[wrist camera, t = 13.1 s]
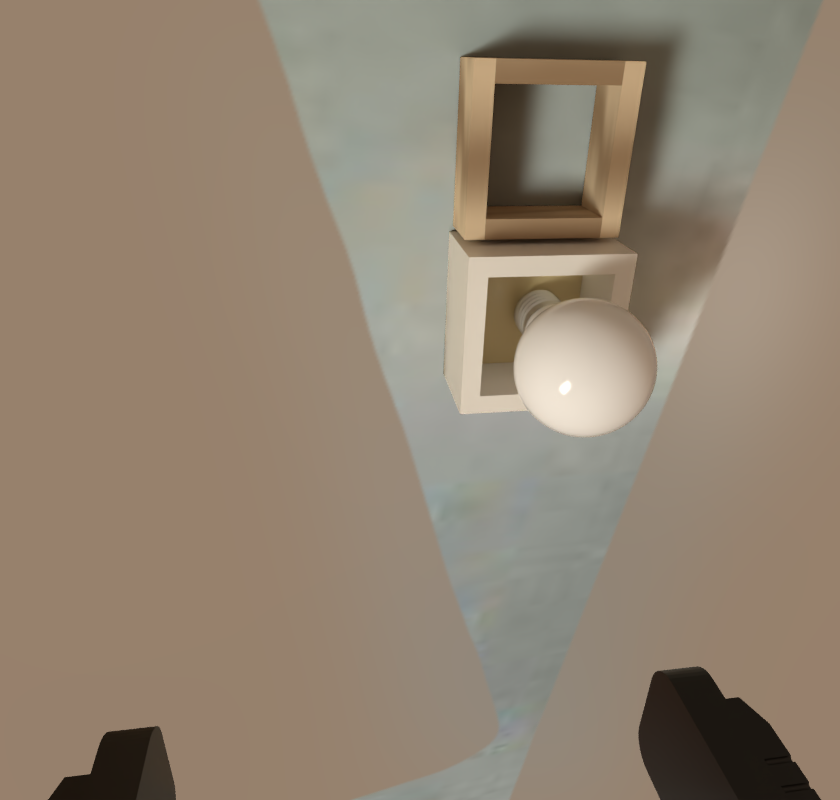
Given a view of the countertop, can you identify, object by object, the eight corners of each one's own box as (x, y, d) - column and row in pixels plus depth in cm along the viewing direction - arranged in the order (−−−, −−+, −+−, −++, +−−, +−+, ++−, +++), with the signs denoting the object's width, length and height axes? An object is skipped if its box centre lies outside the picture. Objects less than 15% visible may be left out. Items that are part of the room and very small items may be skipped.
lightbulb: (608, 276, 37) (712, 356, 27) (556, 373, 40) (634, 479, 30) (509, 235, 35) (582, 307, 26) (460, 340, 38) (510, 442, 28)
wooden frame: (460, 56, 32) (474, 57, 29) (619, 60, 33) (646, 61, 30) (453, 225, 36) (464, 240, 33) (596, 223, 37) (618, 237, 34)
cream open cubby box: (449, 231, 36) (469, 257, 31) (599, 229, 37) (637, 253, 32) (443, 373, 40) (460, 414, 35) (578, 367, 41) (611, 405, 36)
